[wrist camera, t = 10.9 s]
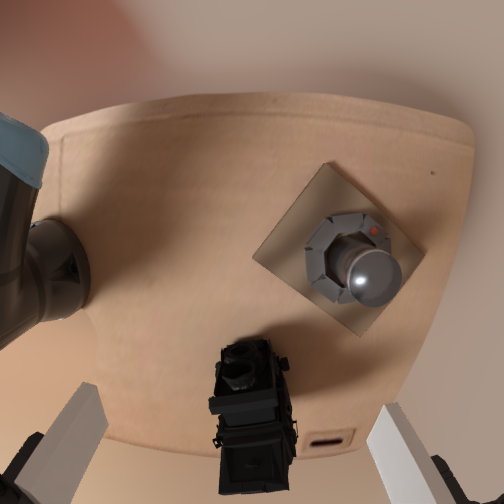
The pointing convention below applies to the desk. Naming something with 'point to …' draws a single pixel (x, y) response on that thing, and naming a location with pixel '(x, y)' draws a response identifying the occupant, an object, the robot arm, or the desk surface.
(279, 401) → the camera
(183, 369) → the desk surface
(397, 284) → the lens
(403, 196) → the desk surface
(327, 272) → the mount board
